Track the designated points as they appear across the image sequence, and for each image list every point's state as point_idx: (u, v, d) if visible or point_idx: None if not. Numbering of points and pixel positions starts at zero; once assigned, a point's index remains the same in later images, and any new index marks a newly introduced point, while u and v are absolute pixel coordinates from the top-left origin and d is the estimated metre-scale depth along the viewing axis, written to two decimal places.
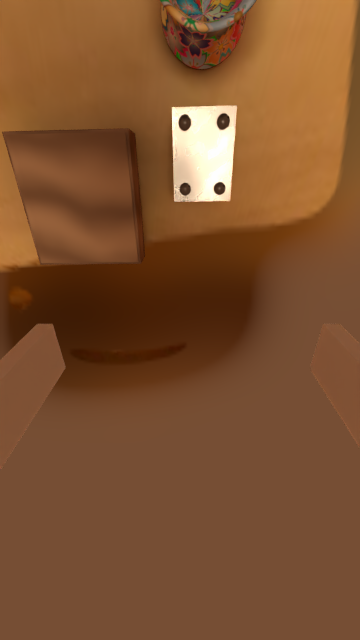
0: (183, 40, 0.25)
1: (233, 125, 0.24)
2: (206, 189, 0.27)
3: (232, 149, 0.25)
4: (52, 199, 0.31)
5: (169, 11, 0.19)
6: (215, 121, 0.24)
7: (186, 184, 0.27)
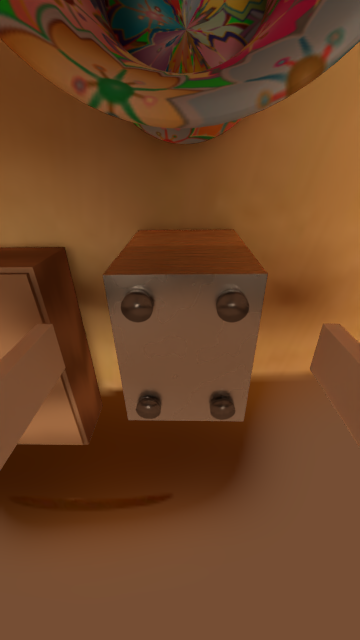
0: None
1: (256, 309, 0.10)
2: (194, 405, 0.13)
3: (252, 349, 0.11)
4: None
5: (21, 55, 0.05)
6: (213, 302, 0.10)
7: (150, 404, 0.12)
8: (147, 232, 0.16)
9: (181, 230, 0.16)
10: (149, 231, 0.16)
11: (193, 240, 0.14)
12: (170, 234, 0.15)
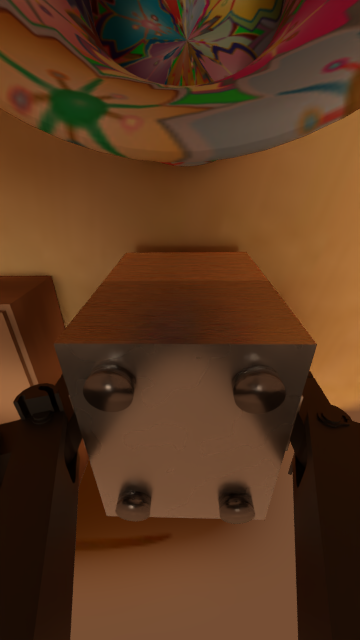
0: None
1: (294, 392, 0.07)
2: (197, 502, 0.09)
3: (283, 441, 0.07)
4: None
5: None
6: (227, 382, 0.06)
7: (135, 505, 0.09)
8: (136, 256, 0.12)
9: (180, 253, 0.13)
10: (139, 255, 0.12)
11: (196, 270, 0.10)
12: (166, 260, 0.12)
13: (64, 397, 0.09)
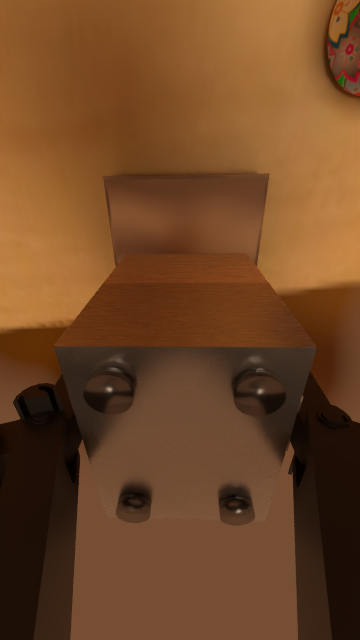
0: None
1: (294, 394, 0.07)
2: (197, 504, 0.09)
3: (283, 443, 0.07)
4: None
5: None
6: (227, 384, 0.06)
7: (135, 507, 0.09)
8: (136, 258, 0.12)
9: (180, 255, 0.13)
10: (139, 256, 0.12)
11: (196, 272, 0.10)
12: (166, 261, 0.12)
13: (64, 397, 0.09)
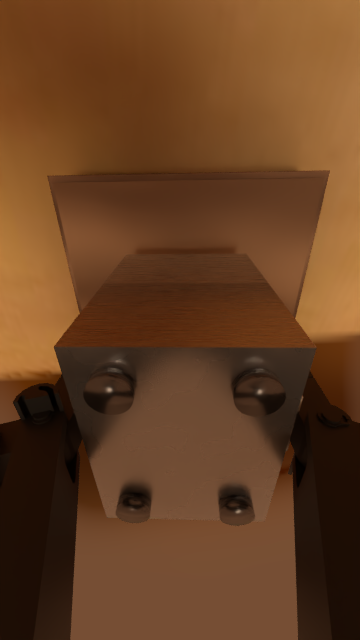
0: None
1: (294, 395, 0.07)
2: (197, 504, 0.09)
3: (283, 443, 0.07)
4: None
5: None
6: (227, 385, 0.06)
7: (135, 507, 0.09)
8: (136, 258, 0.12)
9: (180, 255, 0.13)
10: (139, 256, 0.12)
11: (195, 272, 0.10)
12: (165, 261, 0.12)
13: (64, 397, 0.09)
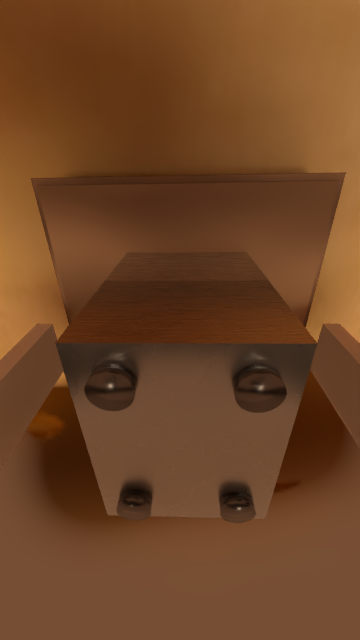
0: None
1: (295, 391, 0.07)
2: (197, 502, 0.09)
3: (284, 440, 0.07)
4: None
5: None
6: (228, 381, 0.06)
7: (136, 505, 0.09)
8: (137, 256, 0.12)
9: (180, 253, 0.13)
10: (140, 255, 0.13)
11: (196, 270, 0.10)
12: (166, 260, 0.12)
13: None
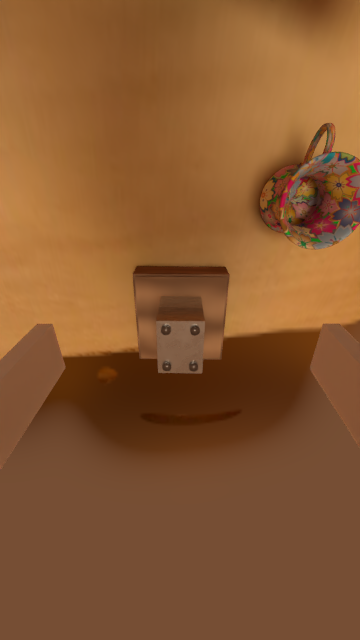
0: (278, 224, 0.35)
1: (203, 331, 0.32)
2: (183, 366, 0.35)
3: (202, 344, 0.33)
4: None
5: (289, 239, 0.29)
6: (189, 329, 0.32)
7: (167, 364, 0.34)
8: (165, 298, 0.38)
9: (179, 297, 0.38)
10: (165, 297, 0.38)
11: (183, 304, 0.36)
12: (174, 299, 0.37)
13: None
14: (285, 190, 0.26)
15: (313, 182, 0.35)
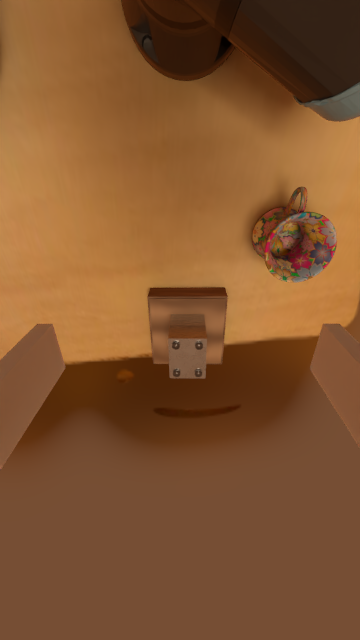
0: None
1: (205, 346, 0.40)
2: (190, 373, 0.43)
3: (205, 356, 0.41)
4: None
5: (273, 275, 0.36)
6: (194, 344, 0.40)
7: (177, 372, 0.42)
8: (174, 316, 0.46)
9: (186, 314, 0.46)
10: (175, 315, 0.46)
11: (190, 322, 0.44)
12: (182, 317, 0.45)
13: None
14: (268, 240, 0.34)
15: None
